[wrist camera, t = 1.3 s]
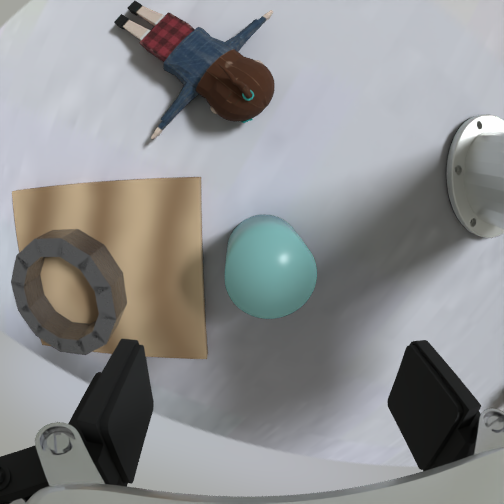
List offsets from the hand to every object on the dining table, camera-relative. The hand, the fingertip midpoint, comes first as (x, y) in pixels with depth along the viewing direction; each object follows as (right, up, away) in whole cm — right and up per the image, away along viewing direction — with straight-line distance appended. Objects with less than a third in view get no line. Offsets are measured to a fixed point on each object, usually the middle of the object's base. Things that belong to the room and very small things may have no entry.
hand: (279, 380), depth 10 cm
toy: (-6, +20, +12) cm, 24 cm away
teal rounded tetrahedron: (0, +4, +16) cm, 17 cm away
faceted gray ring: (-17, +1, +15) cm, 23 cm away
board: (-14, +2, +16) cm, 21 cm away
